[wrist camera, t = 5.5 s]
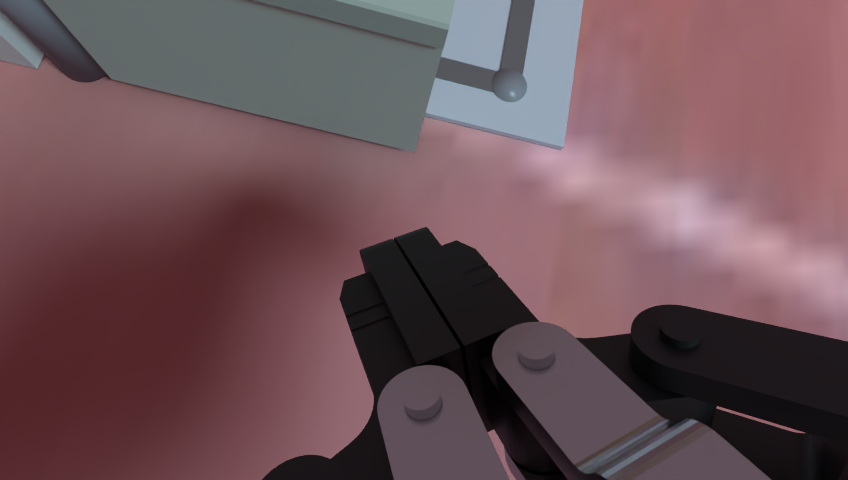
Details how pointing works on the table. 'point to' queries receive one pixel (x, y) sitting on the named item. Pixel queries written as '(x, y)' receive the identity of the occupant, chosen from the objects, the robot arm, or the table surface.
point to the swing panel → (278, 56)
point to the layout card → (509, 68)
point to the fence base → (43, 40)
